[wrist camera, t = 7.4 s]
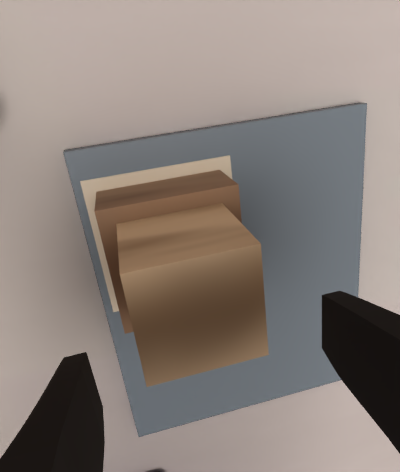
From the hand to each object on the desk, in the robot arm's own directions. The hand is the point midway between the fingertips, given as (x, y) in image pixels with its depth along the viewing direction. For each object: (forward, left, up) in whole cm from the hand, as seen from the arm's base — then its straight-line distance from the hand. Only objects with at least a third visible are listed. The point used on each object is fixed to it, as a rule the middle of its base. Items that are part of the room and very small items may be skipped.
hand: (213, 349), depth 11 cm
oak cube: (0, 0, -6) cm, 6 cm away
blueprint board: (-4, -4, -10) cm, 11 cm away
